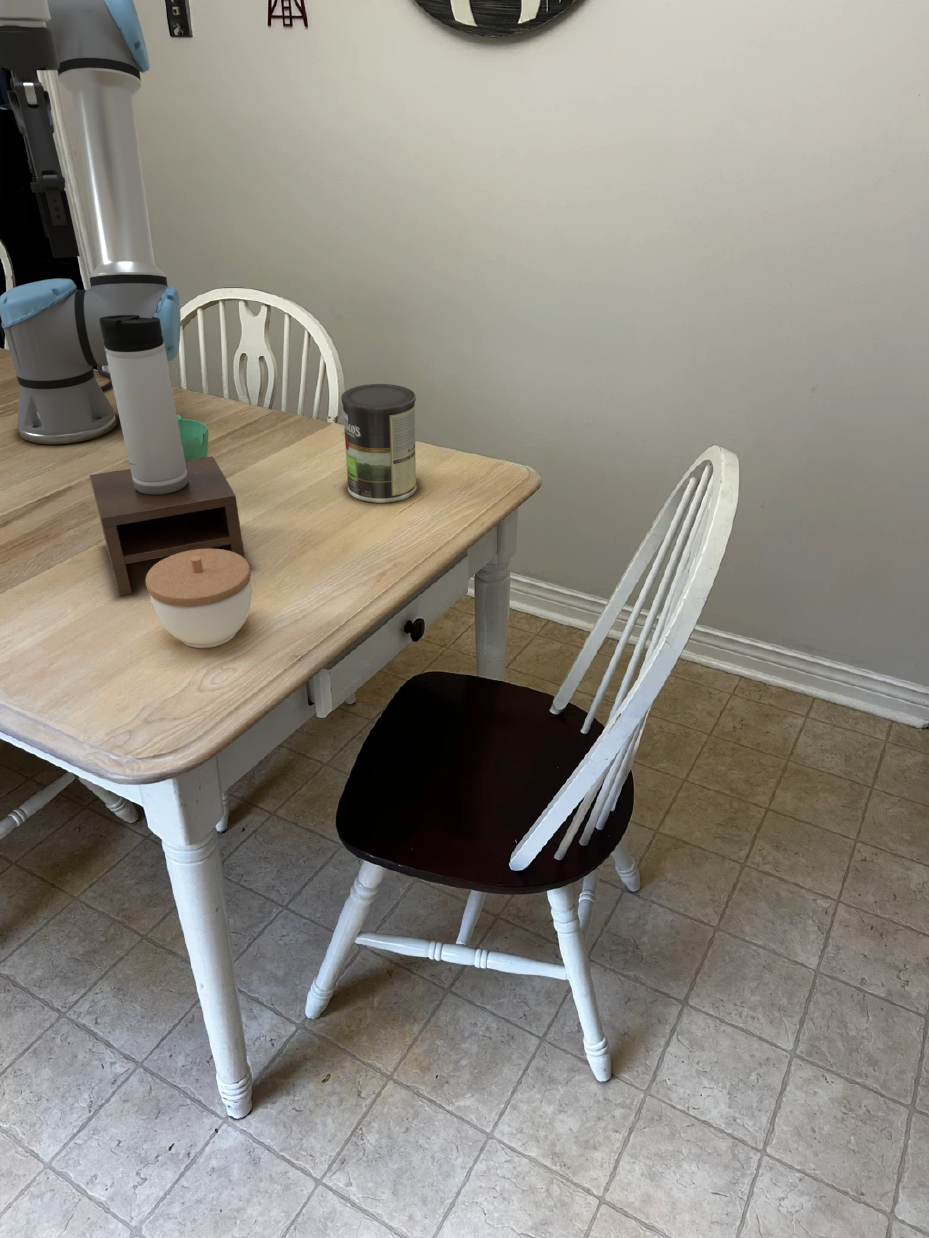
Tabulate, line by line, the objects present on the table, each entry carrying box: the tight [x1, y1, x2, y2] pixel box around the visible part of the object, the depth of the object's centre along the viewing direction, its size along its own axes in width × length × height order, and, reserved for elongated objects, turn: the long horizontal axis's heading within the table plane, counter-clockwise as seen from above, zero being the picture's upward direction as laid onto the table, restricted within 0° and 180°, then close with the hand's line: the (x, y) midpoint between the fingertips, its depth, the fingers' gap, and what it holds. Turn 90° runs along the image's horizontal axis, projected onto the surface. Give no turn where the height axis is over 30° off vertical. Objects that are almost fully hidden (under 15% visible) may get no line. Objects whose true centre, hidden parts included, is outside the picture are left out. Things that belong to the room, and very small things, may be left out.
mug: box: [177, 413, 209, 460], centre depth 124 cm, size 15×10×10 cm
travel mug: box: [99, 315, 188, 495], centre depth 99 cm, size 6×7×20 cm
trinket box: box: [144, 548, 253, 649], centre depth 94 cm, size 11×11×9 cm
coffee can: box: [341, 383, 418, 504], centre depth 125 cm, size 10×10×14 cm
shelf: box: [89, 455, 246, 597], centre depth 107 cm, size 13×15×10 cm
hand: (62, 246), depth 101 cm, fingers open, 13 cm apart
